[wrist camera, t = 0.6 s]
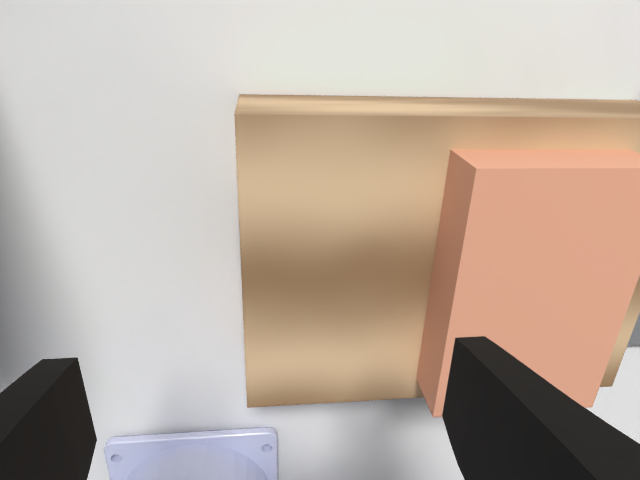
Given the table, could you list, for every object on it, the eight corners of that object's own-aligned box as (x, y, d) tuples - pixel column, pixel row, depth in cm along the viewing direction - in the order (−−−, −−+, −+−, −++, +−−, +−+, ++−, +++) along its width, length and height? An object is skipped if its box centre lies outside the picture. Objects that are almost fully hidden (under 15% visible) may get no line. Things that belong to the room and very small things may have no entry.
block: (561, 370, 19) (592, 407, 18) (416, 378, 19) (432, 417, 17) (630, 149, 16) (678, 167, 14) (450, 149, 15) (476, 168, 13)
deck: (564, 335, 23) (612, 386, 20) (249, 349, 22) (247, 407, 18) (635, 100, 19) (711, 119, 15) (239, 94, 17) (234, 113, 14)
